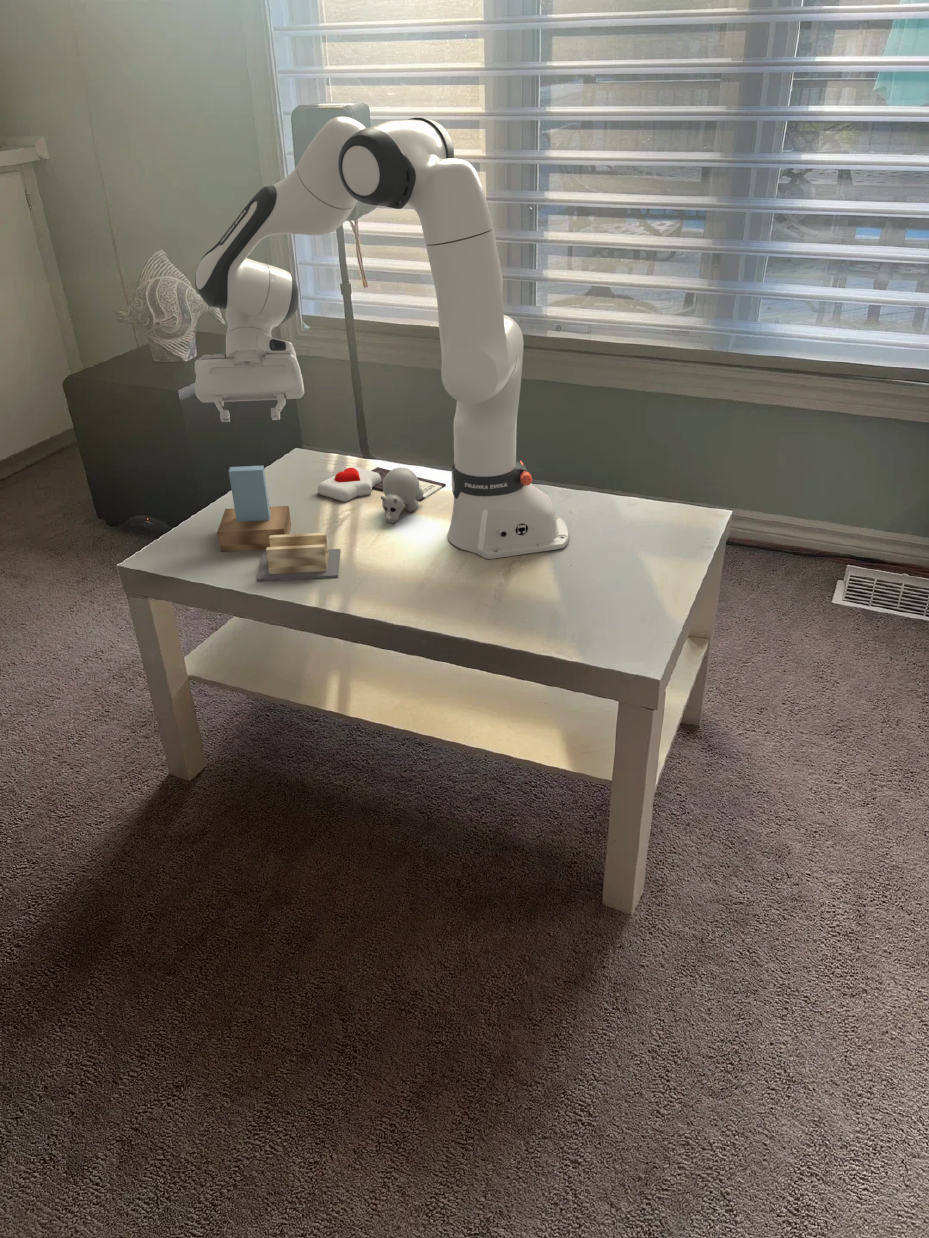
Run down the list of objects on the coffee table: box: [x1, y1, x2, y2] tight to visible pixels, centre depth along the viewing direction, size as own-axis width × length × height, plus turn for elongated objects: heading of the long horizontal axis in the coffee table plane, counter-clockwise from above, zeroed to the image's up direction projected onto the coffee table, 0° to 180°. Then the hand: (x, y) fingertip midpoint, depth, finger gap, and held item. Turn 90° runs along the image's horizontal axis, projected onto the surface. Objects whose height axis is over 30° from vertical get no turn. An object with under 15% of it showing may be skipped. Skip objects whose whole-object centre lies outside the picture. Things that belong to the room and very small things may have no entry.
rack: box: [265, 532, 329, 574], centre depth 162 cm, size 10×7×5 cm, turn 94°
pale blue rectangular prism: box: [228, 465, 271, 522], centre depth 168 cm, size 6×2×10 cm, turn 94°
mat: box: [255, 548, 341, 582], centre depth 163 cm, size 14×10×1 cm
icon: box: [317, 466, 381, 503], centre depth 190 cm, size 12×4×10 cm
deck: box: [216, 505, 292, 552], centre depth 172 cm, size 12×10×4 cm
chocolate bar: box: [370, 466, 447, 502], centre depth 193 cm, size 9×1×18 cm
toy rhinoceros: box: [380, 467, 423, 524], centre depth 179 cm, size 7×12×8 cm, turn 159°
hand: (250, 419), depth 172 cm, fingers open, 8 cm apart
